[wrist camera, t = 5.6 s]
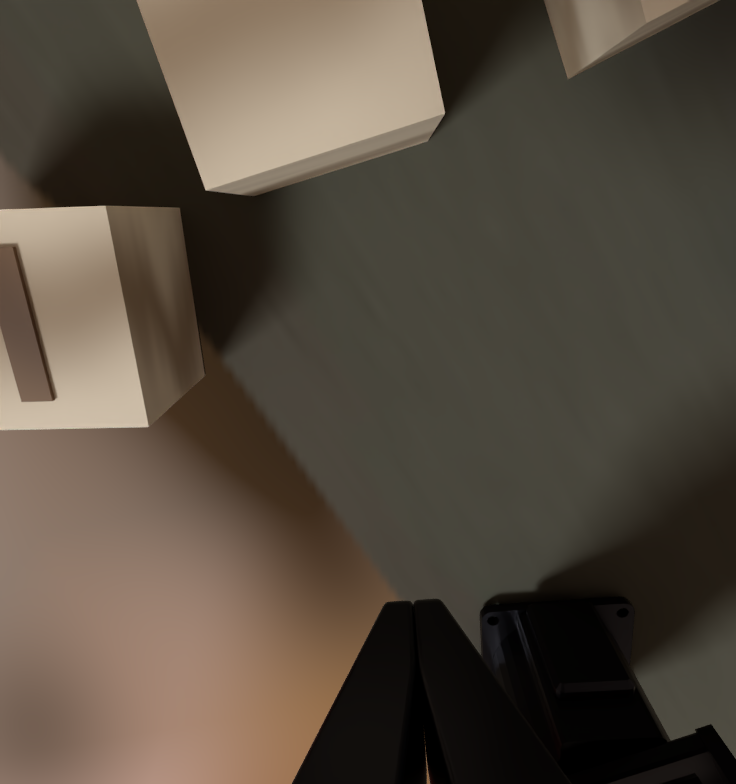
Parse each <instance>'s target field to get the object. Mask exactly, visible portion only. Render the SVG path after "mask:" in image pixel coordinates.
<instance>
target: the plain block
mask: <svg viewBox="0 0 736 784" xmlns="http://www.w3.org/2000/svg"><path fill="white" fill-rule="evenodd" d="M137 3H138V6H139V8H140V11H141V14H142V17H143V19H144V22H145V25H146V28H147V30H148V33H149V36H150V39H151V41H152V44H153V47H154V50H155V52H156V55H157V58H158V61H159V63H160V66H161V69H162V72H163V74H164V77H165V80H166V83H167V85H168V88H169V91H170V94H171V96H172V99H173V102H174V105H175V107H176V110H177V113H178V116H179V118H180V121H181V124H182V127H183V129H184V132H185V135H186V138H187V140H188V143H189V146H190V149H191V151H192V154H193V157H194V160H195V162H196V165H197V168H198V171H199V173H200V176H201V179H202V182H203V184H204V187H205V190H207V191H215V192H223V193H231V194H239V195H247V196H256V195H260V194H263V193H266V192H269V191H272V190H275V189H279V188H282V187H285V186H288V185H291V184H294V183H298V182H301V181H304V180H307V179H310V178H313V177H317V176H320V175H323V174H326V173H329V172H332V171H336V170H339V169H342V168H345V167H348V166H351V165H355V164H358V163H361V162H364V161H367V160H370V159H374V158H377V157H380V156H383V155H386V154H389V153H393V152H396V151H399V150H402V149H405V148H408V147H412V146H415V145H418V144H421V143H424V142H427V141H428V140H429V138H430V137H431V135H432V134H433V132H434V130H435V129H436V127H437V126H438V124H439V123H440V121H441V119H442V118H443V116H444V115H445V110H444V105H443V101H442V96H441V91H440V86H439V81H438V77H437V72H436V67H435V62H434V57H433V53H432V48H431V43H430V38H429V33H428V29H427V24H426V19H425V14H424V9H423V5H422V0H137Z"/></svg>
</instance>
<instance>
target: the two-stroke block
mask: <svg viewBox="0 0 736 784" xmlns="http://www.w3.org/2000/svg"><path fill="white" fill-rule="evenodd" d="M718 1H720V0H544V2H545V6H546V9H547V12H548V15H549V19H550V22H551V25H552V28H553V32H554V35H555V38H556V42H557V45H558V48H559V51H560V55H561V58H562V61H563V64H564V68H565V71H566V74H567V78H568V79H570V78H572V77H574V76H575V75H577V74H579V73H581V72H583V71H585V70H587V69H589V68H591V67H593V66H595V65H597V64H599V63H600V62H602V61H604V60H606V59H608V58H610V57H612V56H614V55H616V54H618V53H620V52H622V51H623V50H625V49H627V48H629V47H631V46H633V45H635V44H637V43H639V42H641V41H643V40H645V39H647V38H648V37H650V36H652V35H654V34H656V33H658V32H660V31H662V30H664V29H666V28H668V27H670V26H671V25H673V24H675V23H677V22H679V21H681V20H683V19H685V18H687V17H689V16H691V15H693V14H695V13H696V12H698V11H700V10H702V9H704V8H706V7H708V6H710V5H712V4H714V3H716V2H718Z"/></svg>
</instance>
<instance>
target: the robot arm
mask: <svg viewBox="0 0 736 784" xmlns="http://www.w3.org/2000/svg"><path fill="white" fill-rule="evenodd" d="M622 608H623V609H622ZM413 609H414V611H413ZM619 609H622V610H619ZM618 610H619V611H618ZM634 614H635V611H634V608H633V606H632V605H631V603H630V602H629V600H628V599H626V598H624V597H609V598H593V599H577V600H562V601H546V602H530V603H514V604H499V605H489V606H486V607H484V608H483V609H482V610H481V611H480V632H481V655H480V654H479V653H478V651H477V650H476V648H475V647H474V645H473V644H472V643H471V641H470V640H469V638H468V637H467V636H466V634H465V633H464V631H463V630H462V629H461V627H460V626H459V624H458V623H457V622H456V620H455V619H454V617H453V616H452V614H451V613H450V612H449V610H448V609H447V607H446V606H445V605H444V603H443V602H442V601H441V600H439V599H425V600H416V601H415V602H414V604H412V603H411V602H410V601H394V602H387V603H385V605H384V606H383V608H382V610H381V612H380V613H379V615H378V617H377V619H376V621H375V623H374V625H373V627H372V629H371V631H370V633H369V635H368V637H367V639H366V641H365V643H364V645H363V646H362V648H361V651H360V652H359V654H358V656H357V658H356V660H355V662H354V664H353V666H352V668H351V670H350V672H349V674H348V676H347V678H346V679H345V681H344V683H343V685H342V687H341V690H340V691H339V693H338V695H337V697H336V699H335V701H334V703H333V705H332V707H331V709H330V711H329V713H328V714H327V716H326V719H325V720H324V723H323V724H322V726H321V728H320V730H319V732H318V734H317V736H316V738H315V740H314V742H313V744H312V746H311V748H310V750H309V751H308V754H307V755H306V757H305V759H304V761H303V763H302V765H301V767H300V769H299V771H298V773H297V775H296V777H295V779H294V780H293V782H292V784H427V775H426V773H427V769H426V756H427V765H428V773H429V779H430V784H736V759H735V758H734V756H733V755H732V753H731V752H730V750H729V749H728V748H727V746H726V745H725V743H724V742H723V740H722V739H721V738H720V736H719V735H718V733H717V732H716V730H715V729H714V728H713V726H712V725H711V724H710V725H707V726H704V727H701V728H698V729H695V731H696V733H694V734H690V735H687V736H684V737H681V738H678V739H675V740H672V741H671V740H670V739H669V737H668V735H667V733H666V731H665V729H664V728H663V726H662V724H661V722H660V720H659V718H658V717H657V715H656V713H655V711H654V709H653V707H652V706H651V704H650V702H649V700H648V698H647V696H646V695H645V693H644V691H643V689H642V687H641V685H640V684H639V682H638V680H637V678H636V676H635V674H634V673H633V671H632V669H631V667H630V659H631V647H632V636H633V625H634ZM492 616H495V618H492V619H490V618H489V617H492ZM423 725H424V726H423ZM424 736H425V738H424ZM425 746H426V750H425Z"/></svg>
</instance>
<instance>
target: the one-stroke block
mask: <svg viewBox="0 0 736 784" xmlns="http://www.w3.org/2000/svg"><path fill="white" fill-rule="evenodd" d="M205 375H206V372H205V365H204V358H203V351H202V345H201V338H200V332H199V331H198V326H197V320H196V313H195V306H194V300H193V293H192V286H191V280H190V273H189V266H188V260H187V253H186V246H185V240H184V233H183V226H182V220H181V213H180V208H173V207H136V206H84V207H58V208H32V209H5V210H0V430H28V429H74V428H76V429H77V428H123V427H149V426H150V425H151V424H152V423H154V422H155V421H156V420H157V419H158V418H159V417H160V416H161V415H162V414H163V413H164V412H166V410H168V409H169V408H170V407H171V406H172V405H173V404H174V403H175V402H177V401H178V400H179V399H180V398H181V397H182V396H183V395H184V394H185V393H186V392H187V391H189V390H190V389H191V388H192V387H193V386H194V385H195V384H196V383H197V382H198V381H199V380H201V379H202V378H203V377H204V376H205Z"/></svg>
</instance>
